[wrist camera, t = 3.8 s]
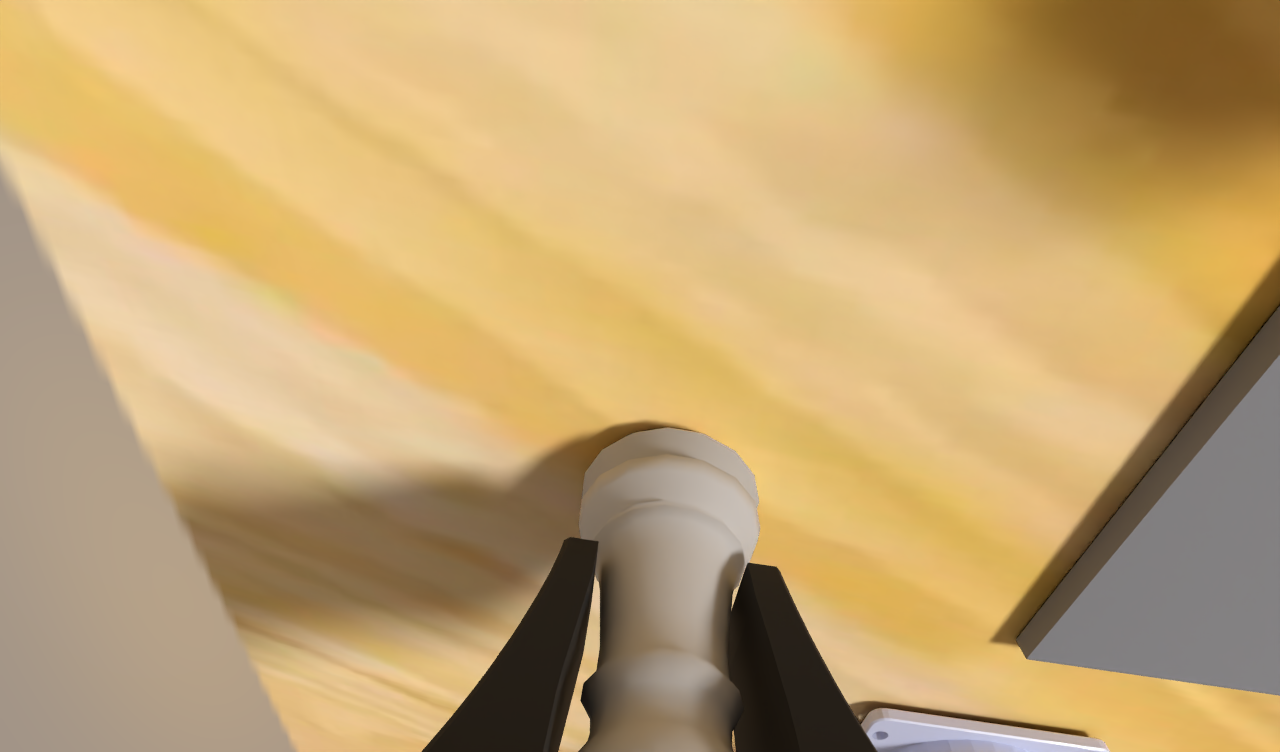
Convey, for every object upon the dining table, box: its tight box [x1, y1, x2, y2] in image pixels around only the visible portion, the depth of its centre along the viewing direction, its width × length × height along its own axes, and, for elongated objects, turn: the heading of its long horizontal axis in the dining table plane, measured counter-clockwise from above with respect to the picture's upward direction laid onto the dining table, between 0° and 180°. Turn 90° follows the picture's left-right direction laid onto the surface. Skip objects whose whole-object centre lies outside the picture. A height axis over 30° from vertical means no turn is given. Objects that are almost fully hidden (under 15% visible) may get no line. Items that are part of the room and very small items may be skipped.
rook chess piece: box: [579, 427, 760, 752], centre depth 11 cm, size 4×4×8 cm
